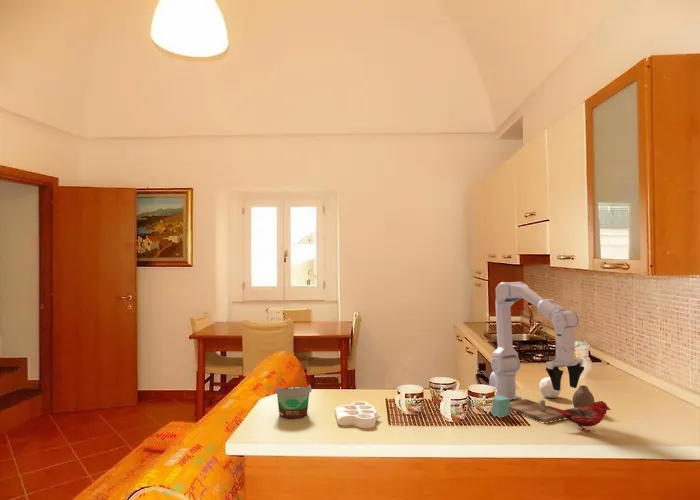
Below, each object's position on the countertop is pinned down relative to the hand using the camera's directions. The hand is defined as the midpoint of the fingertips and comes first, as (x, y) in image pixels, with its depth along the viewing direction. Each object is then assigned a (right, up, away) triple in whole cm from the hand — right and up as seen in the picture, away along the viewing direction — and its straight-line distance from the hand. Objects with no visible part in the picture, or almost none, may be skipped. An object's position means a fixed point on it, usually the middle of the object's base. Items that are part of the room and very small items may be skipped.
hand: (564, 388), depth 161 cm
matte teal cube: (-21, -10, +3) cm, 23 cm away
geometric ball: (+5, -10, +24) cm, 27 cm away
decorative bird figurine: (0, -10, -10) cm, 15 cm away
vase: (+10, -10, +8) cm, 16 cm away
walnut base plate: (-8, -10, +6) cm, 14 cm away
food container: (-89, -10, +1) cm, 90 cm away
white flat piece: (-68, -11, 0) cm, 69 cm away
